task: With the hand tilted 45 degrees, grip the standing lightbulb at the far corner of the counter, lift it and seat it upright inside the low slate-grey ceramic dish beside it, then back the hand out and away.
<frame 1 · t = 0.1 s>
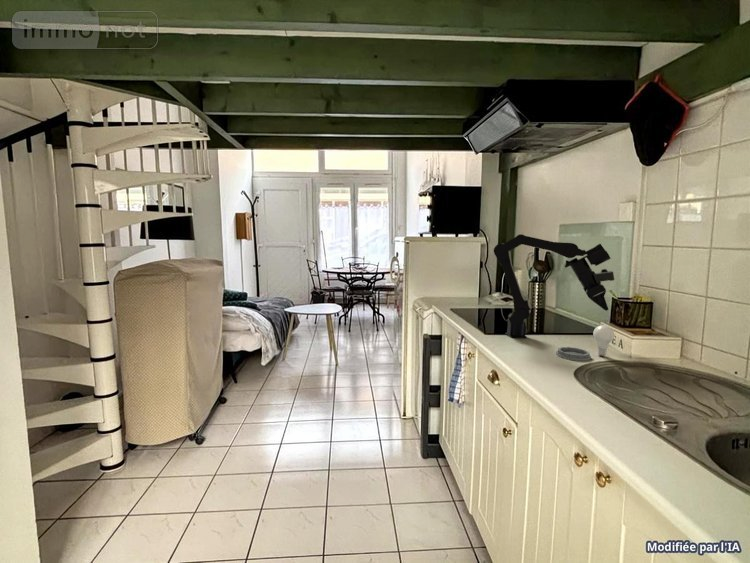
hand: (605, 308, 150), 15 cm above the worktop, tool tilted 35°, fingers open, 9 cm apart
lightbulb: (601, 356, 139), on the worktop
bulb dish: (573, 356, 138), on the worktop
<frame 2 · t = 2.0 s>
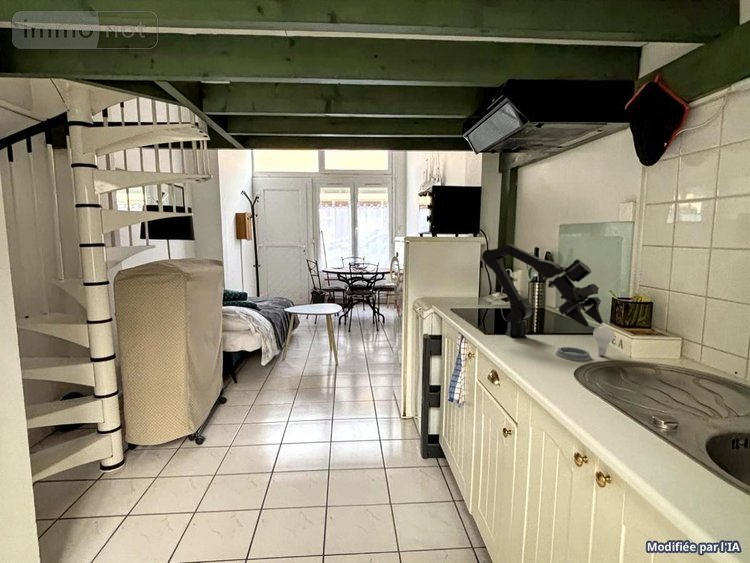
hand: (594, 324, 141), 10 cm above the worktop, tool tilted 45°, fingers open, 9 cm apart
nothing on the worktop moved.
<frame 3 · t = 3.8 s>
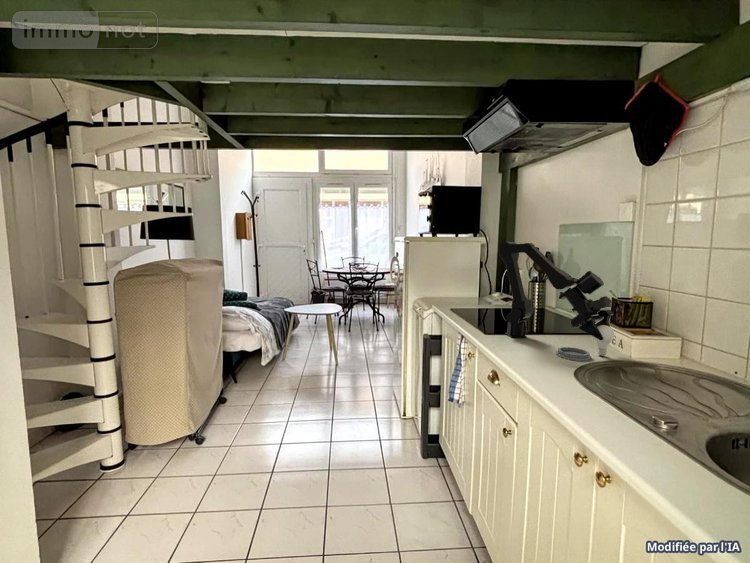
hand: (607, 338, 137), 7 cm above the worktop, tool tilted 45°, fingers closed on lightbulb, 6 cm apart
lightbulb: (601, 356, 139), on the worktop, touching gripper
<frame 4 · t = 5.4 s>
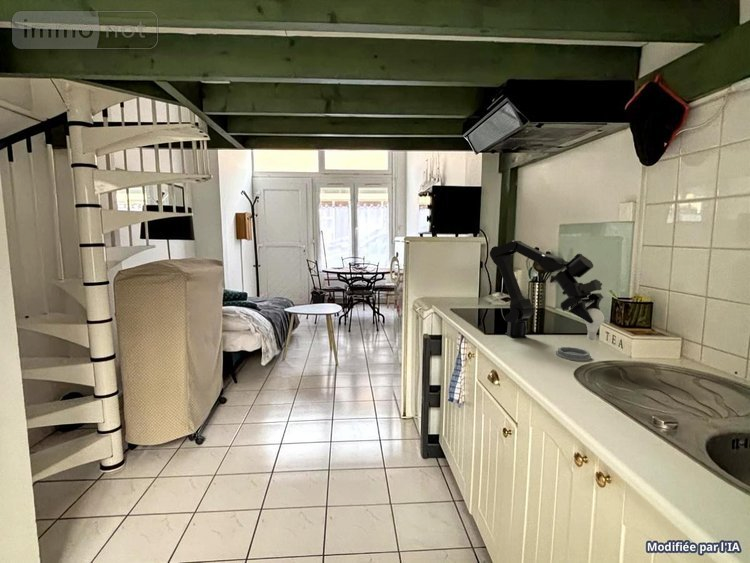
hand: (597, 321, 137), 12 cm above the worktop, tool tilted 45°, fingers closed on lightbulb, 6 cm apart
lightbulb: (591, 339, 139), point 6 cm above the worktop, touching gripper
when the fingers open (9 cm above the worktop, at t = 7.3 s): lightbulb drops 1 cm, resting on bulb dish.
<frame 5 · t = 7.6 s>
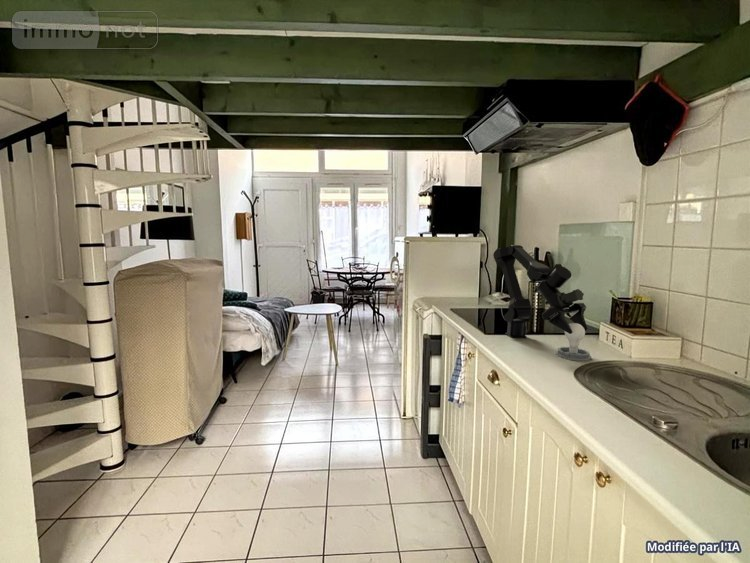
hand: (579, 331, 136), 9 cm above the worktop, tool tilted 45°, fingers open, 9 cm apart
lightbulb: (573, 354, 139), resting on bulb dish
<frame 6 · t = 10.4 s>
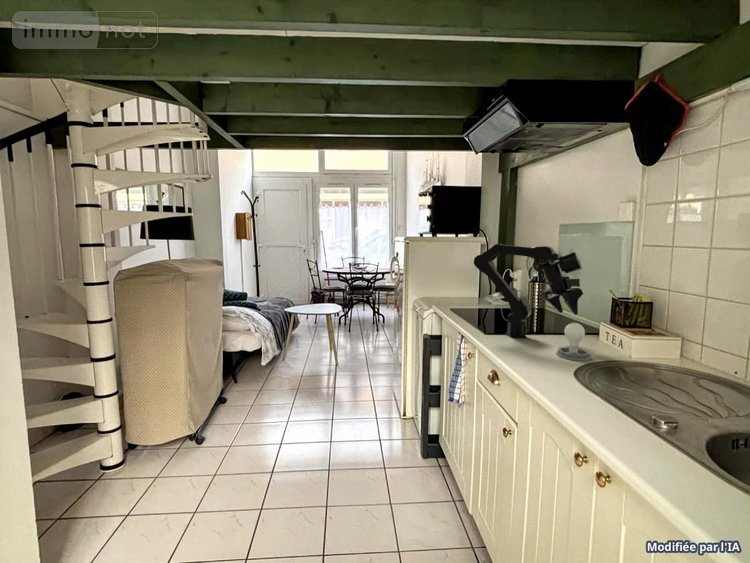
hand: (568, 313, 156), 11 cm above the worktop, tool tilted 25°, fingers open, 9 cm apart
nothing on the worktop moved.
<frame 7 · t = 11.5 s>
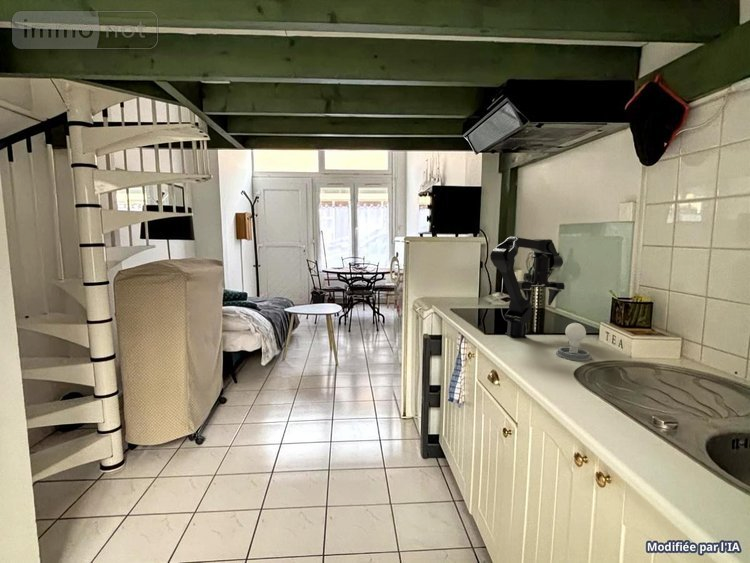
hand: (538, 305, 170), 12 cm above the worktop, tool pointing down, fingers open, 9 cm apart
nothing on the worktop moved.
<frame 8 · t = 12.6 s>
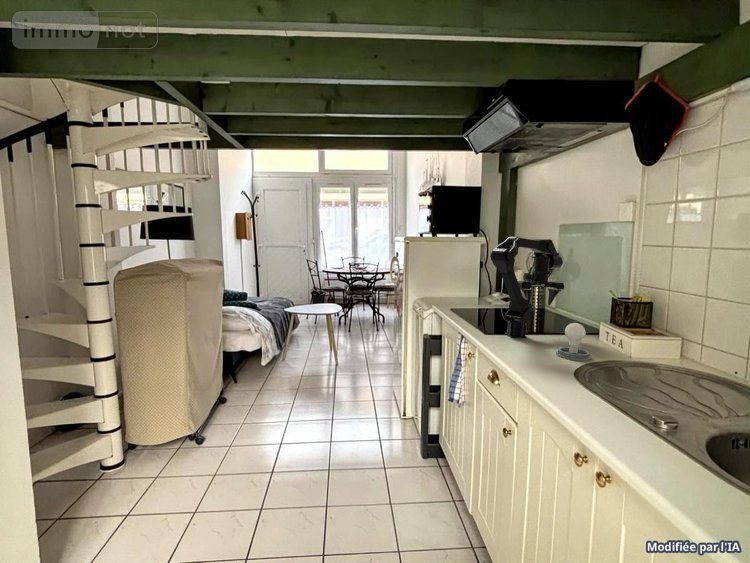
hand: (538, 305, 170), 12 cm above the worktop, tool pointing down, fingers open, 9 cm apart
nothing on the worktop moved.
at the end: lightbulb 0.4 cm off-centre on the bulb dish, point 0.4 cm above the bulb dish's base; lightbulb tilted 1°; the gripper is holding nothing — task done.
